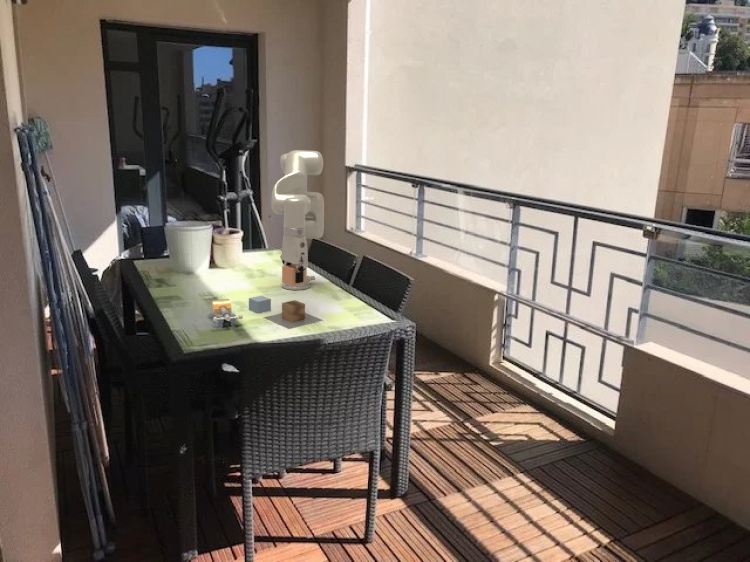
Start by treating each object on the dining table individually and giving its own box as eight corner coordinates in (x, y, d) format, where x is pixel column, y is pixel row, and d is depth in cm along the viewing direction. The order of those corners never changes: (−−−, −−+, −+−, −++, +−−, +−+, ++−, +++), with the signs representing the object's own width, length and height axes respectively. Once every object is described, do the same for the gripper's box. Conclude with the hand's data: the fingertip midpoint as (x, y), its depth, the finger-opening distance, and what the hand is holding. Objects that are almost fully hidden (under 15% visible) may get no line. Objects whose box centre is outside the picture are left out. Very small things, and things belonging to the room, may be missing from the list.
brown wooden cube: (294, 315, 235) (295, 300, 234) (304, 319, 231) (305, 304, 230) (282, 318, 231) (282, 302, 230) (291, 322, 227) (291, 306, 225)
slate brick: (261, 310, 244) (261, 295, 242) (270, 313, 240) (270, 299, 238) (248, 312, 240) (248, 298, 238) (257, 316, 236) (257, 301, 234)
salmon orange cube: (295, 279, 231) (295, 264, 230) (305, 283, 227) (305, 267, 226) (282, 282, 227) (282, 266, 226) (291, 285, 223) (292, 269, 222)
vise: (206, 316, 234) (205, 299, 232) (233, 313, 238) (233, 297, 236) (213, 331, 218) (213, 313, 216) (243, 329, 222) (242, 311, 220)
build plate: (297, 312, 242) (297, 309, 242) (323, 323, 231) (323, 320, 231) (263, 320, 231) (263, 317, 231) (288, 332, 221) (288, 329, 220)
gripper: (317, 234, 219) (316, 284, 224) (288, 227, 231) (287, 274, 236) (300, 237, 214) (300, 287, 219) (271, 229, 226) (271, 277, 230)
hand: (293, 280), depth 227 cm, fingers closed on salmon orange cube, 6 cm apart
